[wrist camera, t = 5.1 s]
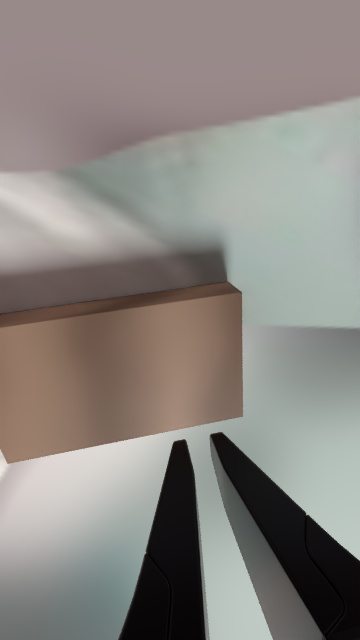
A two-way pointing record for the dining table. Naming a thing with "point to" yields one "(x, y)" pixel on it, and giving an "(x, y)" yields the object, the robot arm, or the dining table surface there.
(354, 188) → the dining table surface
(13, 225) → the dining table surface
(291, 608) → the robot arm
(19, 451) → the tan flat wooden block
